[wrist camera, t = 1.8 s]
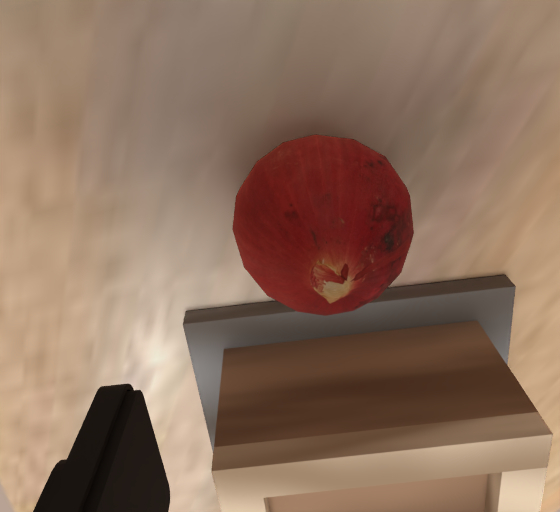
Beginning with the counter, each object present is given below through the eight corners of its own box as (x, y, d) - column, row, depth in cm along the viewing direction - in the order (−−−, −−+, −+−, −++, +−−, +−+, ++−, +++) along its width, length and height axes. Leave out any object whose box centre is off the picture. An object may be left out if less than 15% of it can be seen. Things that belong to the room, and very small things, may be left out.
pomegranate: (374, 96, 19) (443, 158, 12) (394, 235, 22) (460, 355, 15) (220, 133, 20) (198, 214, 12) (258, 265, 22) (257, 396, 15)
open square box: (185, 311, 23) (155, 442, 16) (505, 274, 23) (608, 393, 16) (234, 521, 29) (226, 677, 23) (484, 494, 29) (552, 645, 22)
